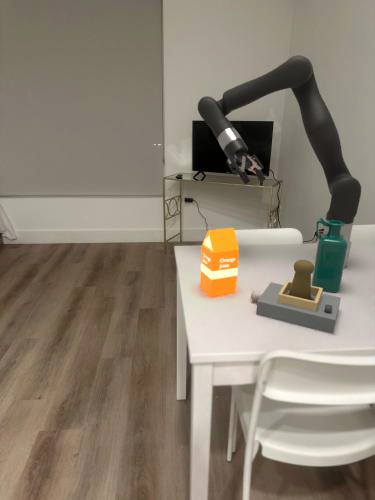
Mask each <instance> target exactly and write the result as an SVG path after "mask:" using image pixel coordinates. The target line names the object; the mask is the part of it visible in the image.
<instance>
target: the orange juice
mask: <svg viewBox="0 0 375 500" xmlns="http://www.w3.org/2000/svg"><path fill="white" fill-rule="evenodd" d="M239 253H240V248H239V244H238V240H237V236H236V231H235V228H234V227H229V228H221V229H220V228H219V229H210V230H209V229H208V230H207V233H206V235H205V238H204V240H203V242H202V244H201V254H200V255H201V256H200V257H201V258H200V281H199V282H200V284H199V287H200V289H201V290H202V291H203V292H204V293H205V294H206V295H207V296H208V297H209V298H210V299H211V298H217V297H221V296H222V297H223V296H228V295H232V294H233V295H234V294H236V293H237V284H238V283H237V282H238V272H239V271H238V269H239V268H238V267H239V257H240V254H239Z"/></svg>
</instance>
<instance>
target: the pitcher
mask: <svg viewBox="0 0 375 500" xmlns="http://www.w3.org/2000/svg"><path fill="white" fill-rule="evenodd" d="M319 224H321V225H322V226H323V227H325V226H327V227H329V229H328V233H324V232H323V233H320V231H319ZM344 225H345V223H343V222H341V221H335V220H330V221H327V222H325V219H323V218H322V217H317V218H316V236H317V238H318V239H317V244H316V250H315V251H316V252H315V256H314V263H313V265H314V271H313V273H312V274H311V286H315V287H320V288H323V290H322V292H329V293H337V292H339V291H340V290H341V284H342V278H343V273H344V269H345V268H344V264H345V258H346V253H347V248H348V243H347V239H346V237H345V236H343V235H341V234H340V233H341V227H342V226H344Z"/></svg>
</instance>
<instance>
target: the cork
mask: <svg viewBox="0 0 375 500" xmlns="http://www.w3.org/2000/svg"><path fill="white" fill-rule="evenodd" d="M293 270H294V276H293V279H292V281H291V282H292V285H291V288H290V292H289V296H294V297H298V298H303V299H307V300H311V286H312V275H313V271H314V263H313V262H312V261H310V260H307V259H298V260H296V261H295V262H294V264H293Z"/></svg>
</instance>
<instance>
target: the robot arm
mask: <svg viewBox="0 0 375 500" xmlns="http://www.w3.org/2000/svg"><path fill="white" fill-rule="evenodd" d="M287 89H291V91H292V92H293V93H292V94H293V95H294V97H295V99H296V102H297V104H298V106H299V111H300V115H301V120H302V125H303V128H304V130H305V131H304V132H305V135H306V137H307V139H308V142H309V144H310V146H311V148H312V150H313V153H314V155H315V156H316V158H317V160H318V161H319V164H320V166H321V167H322V170H323V173H324V176H325V180H326V184H327V186H328V191H329V194H330V195H331V197H330V198H331V199H330V202H329V203H330V204H329V209H328V210H327V212H326V215H325V219H324V221H325V222H327V221H330V220H335V221H341V222H343V223H345V225H344V226H342V227H341V233H340V234H341V235H343V236H345V237H346V239H347V243H348V248H347V253H346V258H345V264H344V269H345V268H346V267H348V262H349V257H350V253H351V247H352V242H351V238H352V237H351V236H352V230H353V224H354V221H355V217H356V216H357V213H358V209H359V204H360V201H361V200H360V199H361V197H362V185H361V183H360V181H359V180H358V179H357V178H355V177H353V175H352V174H351V172H350V171H349V168H348V167H347V164H346V162H345V159H344V157H343V152H342V143H341V138H340V135H339V131H338V129H337V128H338V127H336V124H335V122H334V119H333V116H332V115H331V113H330V111H329V109H328V106H327V104H326V102H325V100H324V99H323V97H322V95H321V91H320V89H319V87H318V84H317V80H316V76H315V72H314V67H313V64H312V61H311V60H310V59H309V58H307V57H306V56H304V55H300V54H299V55H293V56H291V57H290V58H288V59H287V60H286V61H284V62H283V63H281V64H279V65H278V66H277V67H276V68H274V69H272V70H270V71H268V72H266V73H264V74H263V75H261V76H258V77H256V78H254V79H251V80H249V81H246V82H243V83H241V84H239V85H236V86H234V87H232V88H229V89H227V90H226V91H224V92H223V93H222V98H220V99H219V100H215V98H214V97H211V96H208V95H207V96H202V97H201V98H200V99H199V101H198V102H197V111H198V114H199V115H200V117H201V119H203V121H204V122H205V124H207V126H208V128H210V129H211V132H212V133H213V135H214V136H215V138H216V140H217V141H218V143H219V146H220V148H221V149H222V151H223V152H224V154H225V156H226V157H227V160H226V161H225V163H226V165H227V166H228V168H229V169H230V170H231V173H232V175H234V176H236V175H237V176H238V177H239V178H240V179H241V180H242V182H243V184H244V185H249V184H250V183H251V179H250V177H249V175H248V174H247V172H246V171H245V170H248V171H249V172H253V174H255V176H256V178H257V179H258V180H259V182H260V183H263V182H264V181H266V180H267V179H266V176H265V174H264V173H263V171H262V170H263V169H264V166H263V164H262V163H261V161H260V160H259V158H258V157H257V156H256V154H253V155H252V156H251V155H249V153H248V151H249V148H248V146H247V145H246V143H245V141H244V139H243V138H242V137H241V135H240V134H239V132H238V131H237V130H236V129H235V127H234V126H233V124H232V123H231V121H230V119H229V118H227V117H226V116H228V115H229V114H230V113H232V112H233V111H235V110H238V109H241V108H244V107H245V106H248V105H250V104H252V103H255V102H257V100H260V99H261V98H263V97H266V96H268V95H270V94H273V93H277V92H279V91H283V90H287ZM323 227H324V228H323V233H328V229H329V227H327V226H323Z"/></svg>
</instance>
